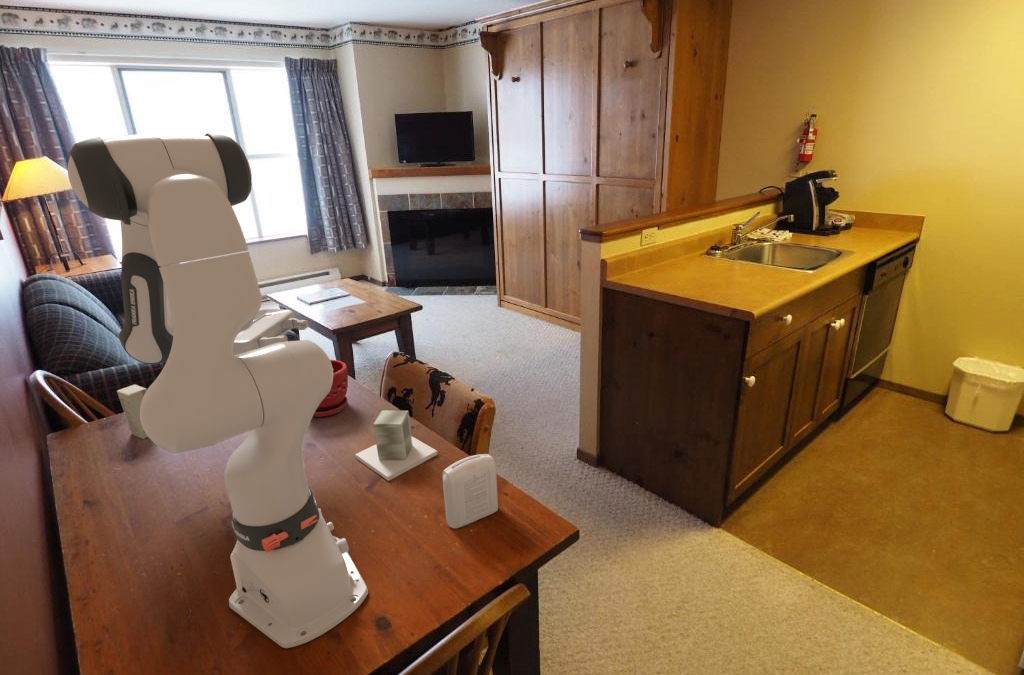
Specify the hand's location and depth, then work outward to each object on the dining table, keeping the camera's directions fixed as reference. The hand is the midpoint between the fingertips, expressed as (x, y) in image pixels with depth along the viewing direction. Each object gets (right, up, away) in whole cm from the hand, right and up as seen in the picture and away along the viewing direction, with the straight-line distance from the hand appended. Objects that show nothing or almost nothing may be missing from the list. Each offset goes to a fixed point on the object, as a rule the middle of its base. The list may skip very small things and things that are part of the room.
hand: (296, 332), depth 112 cm
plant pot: (-5, -20, +33) cm, 39 cm away
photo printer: (+37, -35, -11) cm, 52 cm away
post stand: (+19, -28, +9) cm, 35 cm away
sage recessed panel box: (+19, -27, +9) cm, 34 cm away
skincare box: (-48, -25, +24) cm, 59 cm away
